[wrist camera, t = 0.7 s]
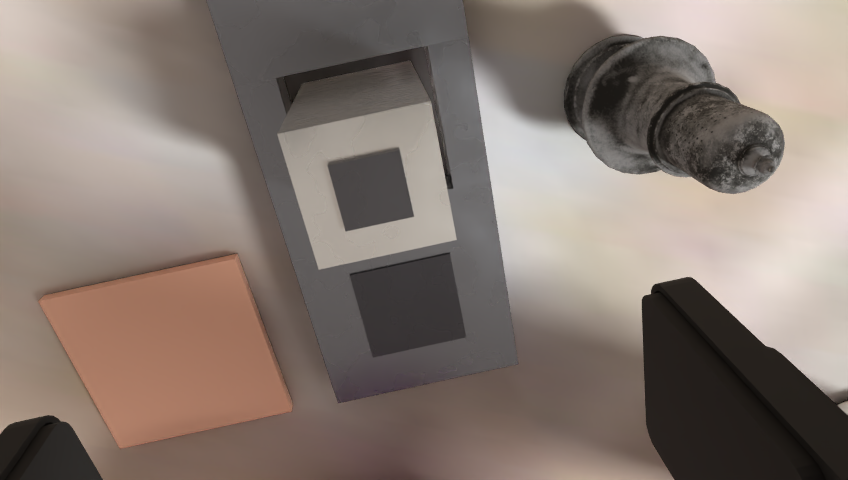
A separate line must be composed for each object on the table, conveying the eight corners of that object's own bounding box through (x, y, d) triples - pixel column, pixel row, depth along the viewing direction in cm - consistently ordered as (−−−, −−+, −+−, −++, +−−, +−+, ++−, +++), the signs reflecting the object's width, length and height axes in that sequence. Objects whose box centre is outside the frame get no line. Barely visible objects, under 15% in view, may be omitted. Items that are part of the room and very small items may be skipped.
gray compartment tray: (510, 342, 34) (518, 365, 32) (339, 379, 34) (337, 404, 32) (433, -143, 24) (439, -152, 22) (189, -91, 24) (174, -96, 22)
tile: (292, 404, 34) (291, 411, 34) (123, 441, 34) (119, 449, 34) (237, 253, 30) (234, 258, 30) (43, 295, 30) (38, 301, 30)
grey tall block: (430, 163, 29) (457, 242, 21) (330, 184, 29) (318, 272, 21) (410, 60, 27) (431, 102, 19) (302, 83, 27) (276, 135, 19)
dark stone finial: (681, 133, 30) (864, 229, 19) (567, 165, 30) (684, 279, 19) (672, 12, 27) (877, 43, 16) (548, 48, 27) (669, 102, 17)
